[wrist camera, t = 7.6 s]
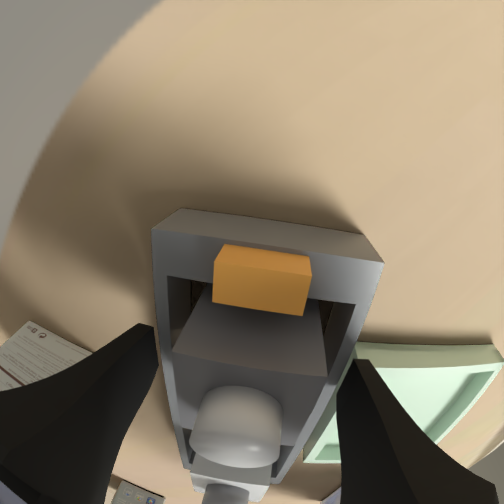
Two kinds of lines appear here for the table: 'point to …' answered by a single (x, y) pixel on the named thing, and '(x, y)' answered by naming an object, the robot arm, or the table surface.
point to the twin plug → (229, 482)
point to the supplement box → (35, 356)
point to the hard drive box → (134, 495)
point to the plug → (247, 379)
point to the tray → (415, 388)
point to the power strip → (262, 289)
